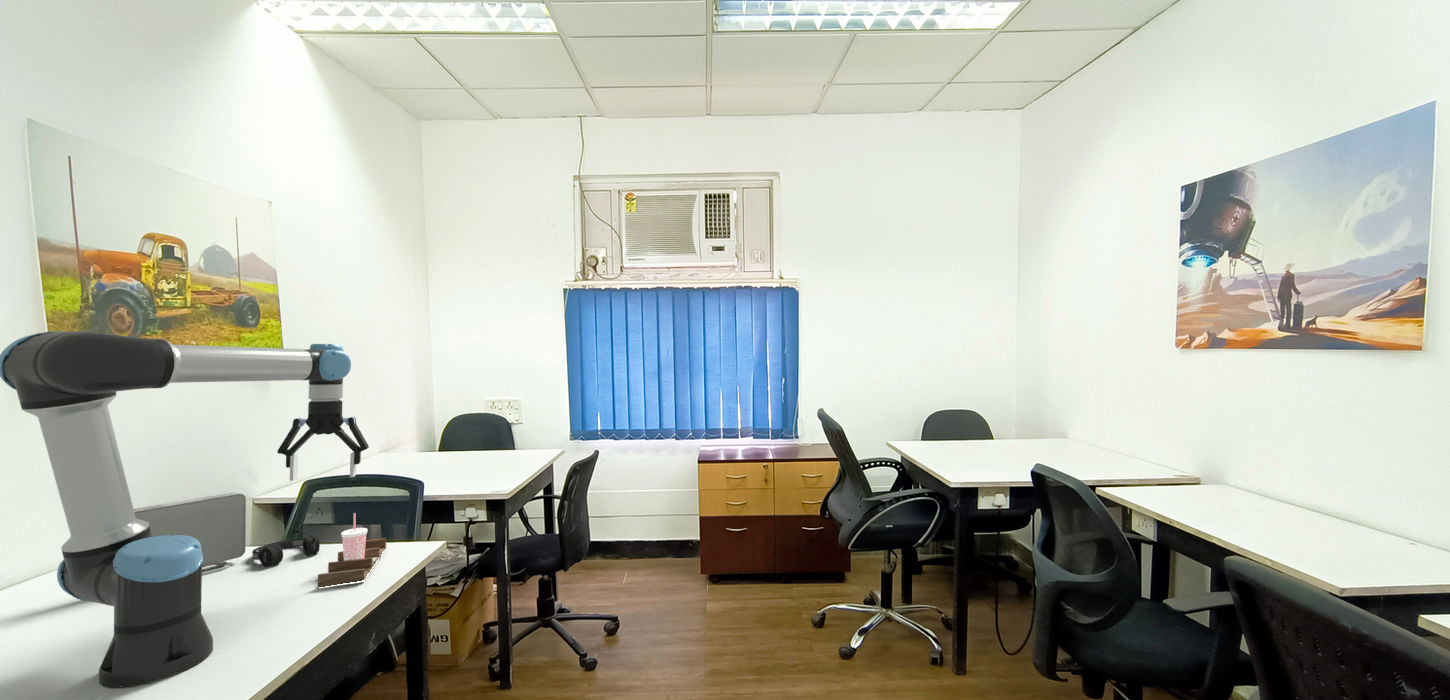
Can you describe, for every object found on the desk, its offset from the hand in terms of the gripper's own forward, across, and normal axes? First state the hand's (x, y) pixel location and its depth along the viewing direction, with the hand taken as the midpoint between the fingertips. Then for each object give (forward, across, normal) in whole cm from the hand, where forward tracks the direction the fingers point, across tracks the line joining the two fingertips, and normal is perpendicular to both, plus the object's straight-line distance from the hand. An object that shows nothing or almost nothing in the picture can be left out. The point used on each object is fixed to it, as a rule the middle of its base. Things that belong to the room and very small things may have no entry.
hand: (323, 478), depth 147 cm
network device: (+26, +35, -11) cm, 45 cm away
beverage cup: (+25, -7, -2) cm, 26 cm away
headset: (+26, +14, -19) cm, 36 cm away
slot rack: (+26, -7, -2) cm, 27 cm away
